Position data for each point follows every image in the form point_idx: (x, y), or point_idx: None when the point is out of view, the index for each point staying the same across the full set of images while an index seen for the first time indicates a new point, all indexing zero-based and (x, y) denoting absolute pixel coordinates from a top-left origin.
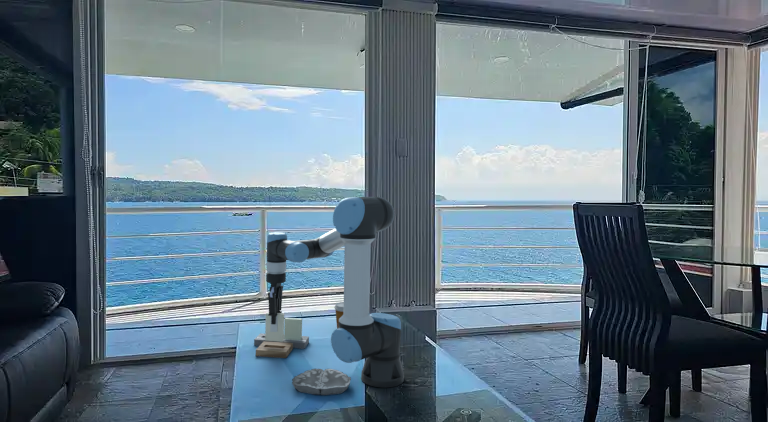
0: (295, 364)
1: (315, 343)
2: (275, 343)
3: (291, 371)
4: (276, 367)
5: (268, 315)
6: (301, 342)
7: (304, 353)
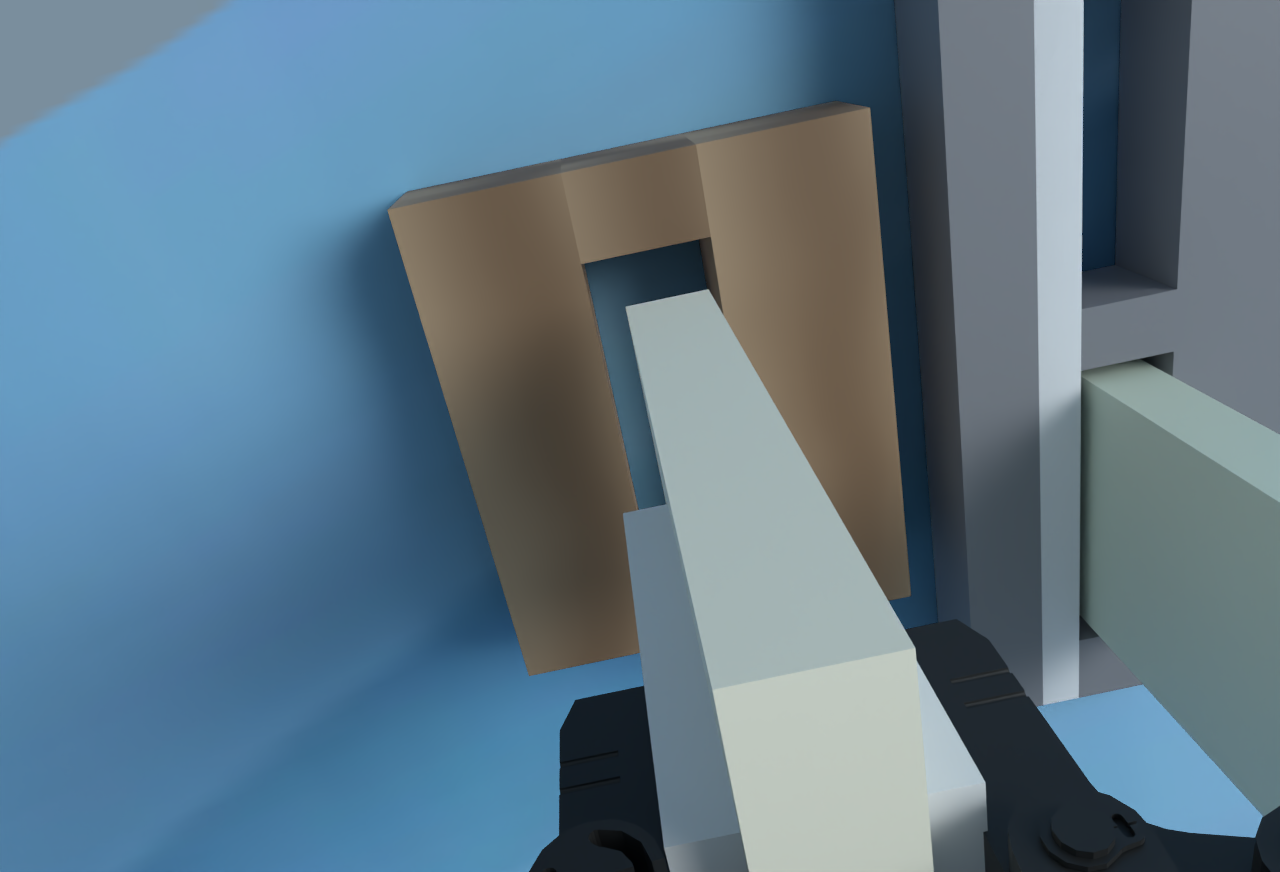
0: (397, 791)
1: None
2: (825, 365)
3: (184, 842)
4: (189, 660)
5: (544, 851)
6: None
7: None
